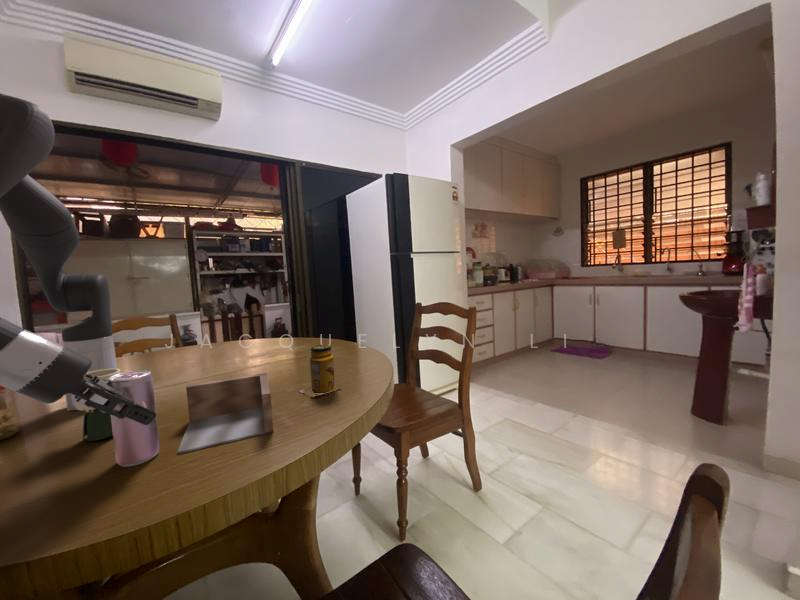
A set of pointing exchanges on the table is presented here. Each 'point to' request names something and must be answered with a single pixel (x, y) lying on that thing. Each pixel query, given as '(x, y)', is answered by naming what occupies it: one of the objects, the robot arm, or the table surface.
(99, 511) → the table surface
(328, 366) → the condiment
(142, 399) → the beverage can
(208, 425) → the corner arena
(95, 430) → the character mug
